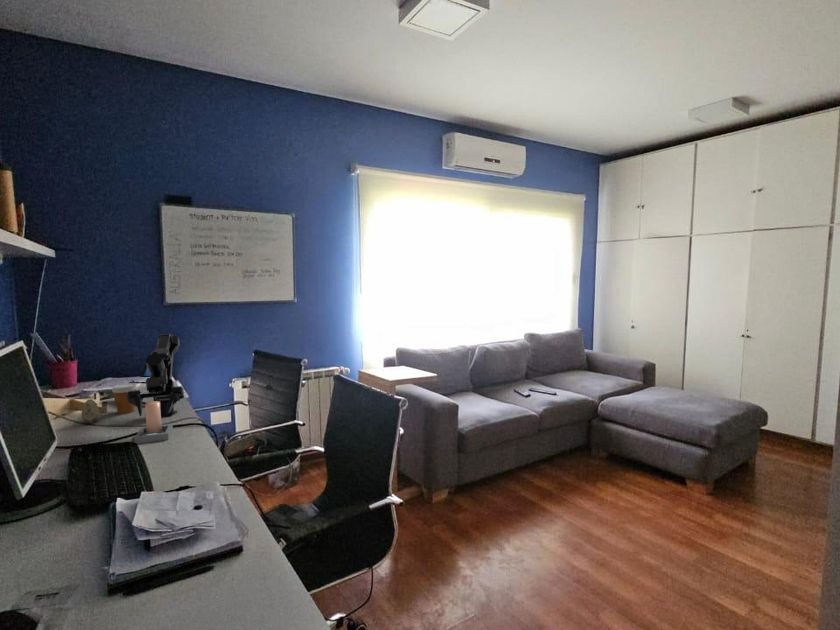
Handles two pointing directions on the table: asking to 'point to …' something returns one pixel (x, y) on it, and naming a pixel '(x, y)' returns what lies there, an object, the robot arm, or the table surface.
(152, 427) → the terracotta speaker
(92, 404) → the decorative egg
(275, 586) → the table surface
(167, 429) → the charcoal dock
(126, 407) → the disposable coffee cup
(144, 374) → the handheld game console
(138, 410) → the robot arm
